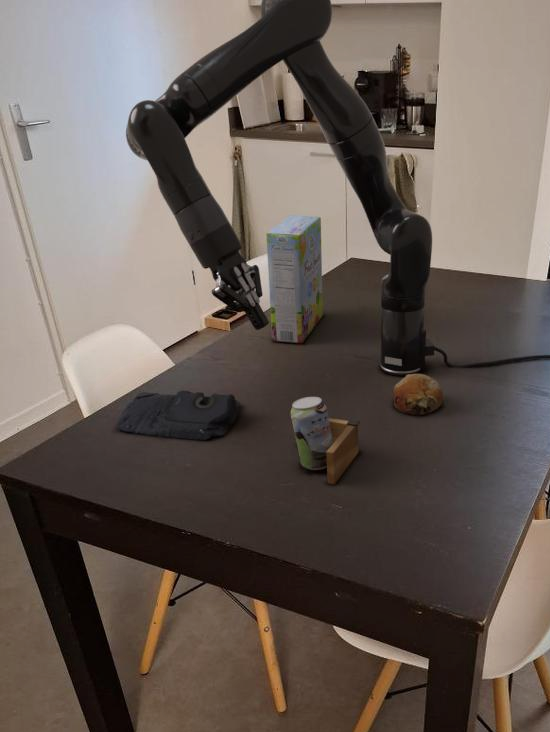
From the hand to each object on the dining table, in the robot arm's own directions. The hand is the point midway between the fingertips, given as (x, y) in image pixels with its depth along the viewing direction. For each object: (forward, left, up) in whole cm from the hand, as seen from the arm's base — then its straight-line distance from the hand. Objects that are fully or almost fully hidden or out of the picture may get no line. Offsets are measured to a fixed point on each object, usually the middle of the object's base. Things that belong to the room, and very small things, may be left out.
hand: (263, 326), depth 118 cm
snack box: (-10, -55, -21) cm, 60 cm away
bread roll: (-29, -6, -21) cm, 36 cm away
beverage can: (-7, +13, -21) cm, 25 cm away
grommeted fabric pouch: (+17, -9, -21) cm, 28 cm away
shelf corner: (-7, +13, -20) cm, 25 cm away
